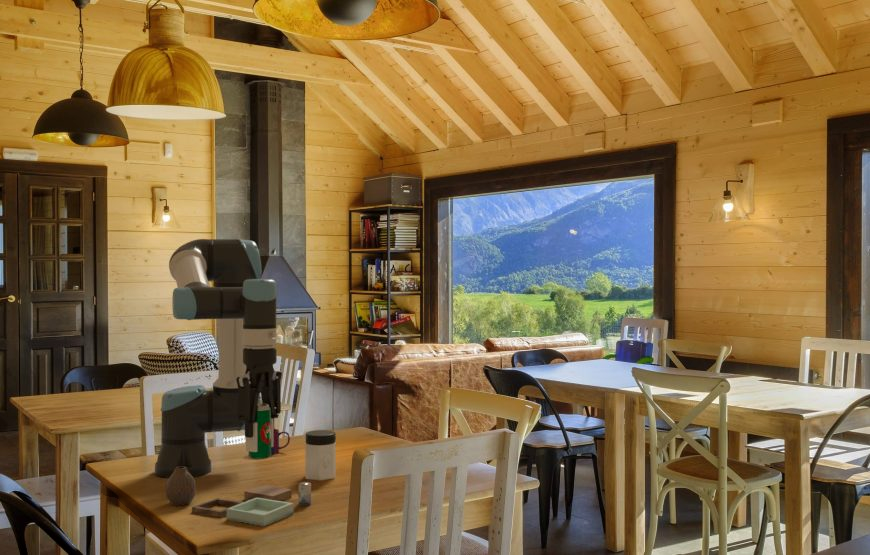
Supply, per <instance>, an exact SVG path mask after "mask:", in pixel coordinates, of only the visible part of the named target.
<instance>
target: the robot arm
mask: <svg viewBox="0 0 870 555" xmlns="http://www.w3.org/2000/svg"><path fill="white" fill-rule="evenodd" d="M260 255H261V254H260V250H259V247H258V245H257V243H256V241H253V240H250V239H241V238H238V239H237V238H235V239H234V238H230V239H227V238H225V239H223V238H222V239H221V238H220V239H219V238H215V239H214V238H211V239H209V238H208V239H207V238H197V239H193V240H190V241H188V242H186V243H184V244H182V245H181V246H179V247H178V248H177V249H176V250H174V252H173V253H172V255H171V256H170V257H169V262H168V268H169V273H170V275H171V277H172V278H173V280H175V283H176V285H177V287H175V288H174V289H173V291H172V298H171V300H172V301H171V302H172V316H173V317H174V319H176V320H186V321H193V320H197V321H198V320H218V377H217V379H215V381H214V382H213V383H212V389H211V390H206V387H205V386H204V385H201V384H200V385H187V386H182V387H177V388H173V389H170V390H168V391H166V392H164V393H163V394H162V397H161V407H160V412H161V426H160V427H161V430H160V431H161V432H160V433H161V434H160V435H161V436H160V437H161V438H160V439H161V442H160V444H161V446H160V449H159V451H158V456H157V459H156V462H155V463H154V475H156V476H158V477H161V478H168V479H169V478H170V476H171V475H172V474H173V472H174V471H175V468H176V467H179V466H185V467H186V468H187V470H188V472H189V473H190V474H191V475H192V477H193V478H194V477H198V476H202V475H205V474H208V473H209V472H211V471H212V460H211V459H210V457H209V453H208V449H207V448H208V447H207V445H206V436H205V435H206V433H218V432H219V433H221V432H234V431H235V432H236V431H237V432H241V431H244V437H245V451H246V452H249V451H250V452H257V423H256V422H255V417H256V411H257V405H258V403H261V402H262V403H266V404H269V407H270V408H271V447H274V429H275V419H278V418H279V416H280V415H279V414H281V411H282V410H281V409H282V406H281V405H282V404H281V402H282V400H281V398H282V396H281V395H282V394H281V381H282V376H283V372H282V371H279V370H277V371H276V370H275V368H274V365H276V364H277V348H276V347H275V346H276V345H277V298H278V297H277V296H278V291H277V282H276V280H274V279H271V278H270V279H267V278H262V270H263V269H262V261H261V256H260ZM210 282H213V283H212V284H213V286H211V285H210Z"/></svg>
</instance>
